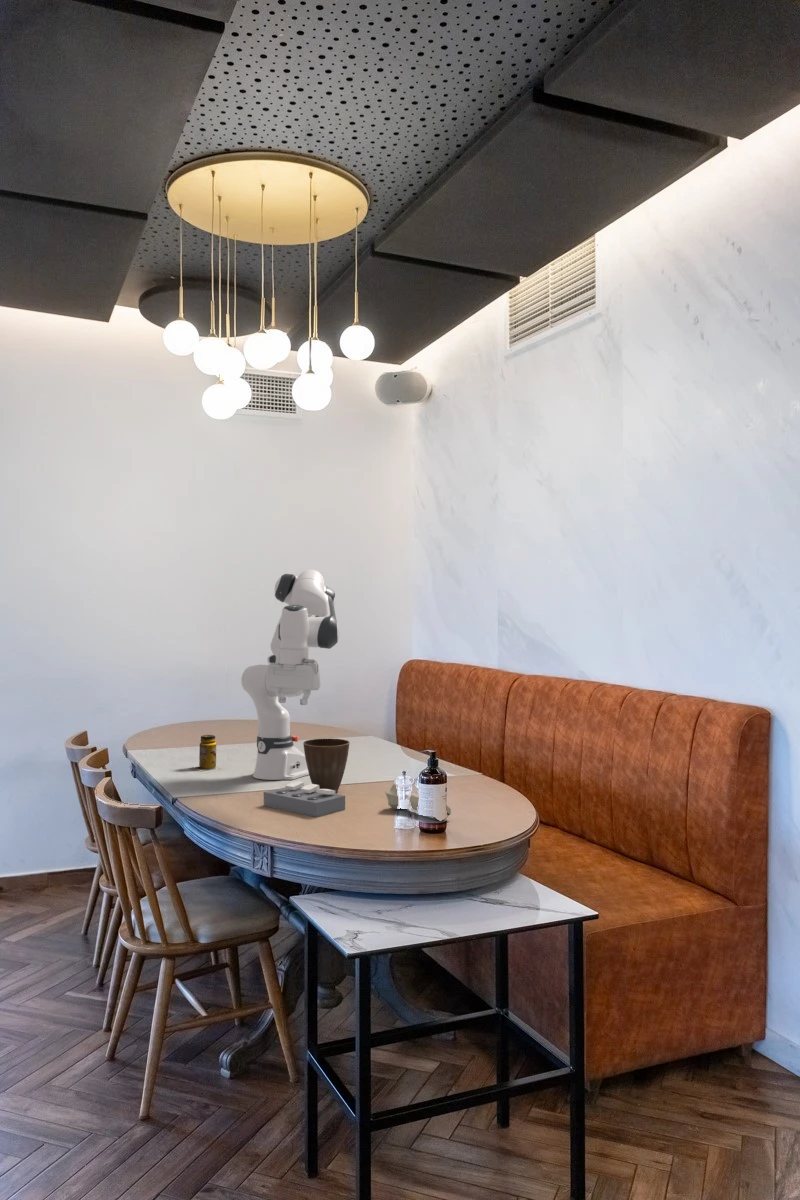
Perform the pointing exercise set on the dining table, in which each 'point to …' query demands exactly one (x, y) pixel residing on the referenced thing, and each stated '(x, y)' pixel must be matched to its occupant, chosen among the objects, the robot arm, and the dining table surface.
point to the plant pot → (326, 761)
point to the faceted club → (414, 798)
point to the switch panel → (304, 801)
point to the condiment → (207, 753)
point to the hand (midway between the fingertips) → (292, 703)
